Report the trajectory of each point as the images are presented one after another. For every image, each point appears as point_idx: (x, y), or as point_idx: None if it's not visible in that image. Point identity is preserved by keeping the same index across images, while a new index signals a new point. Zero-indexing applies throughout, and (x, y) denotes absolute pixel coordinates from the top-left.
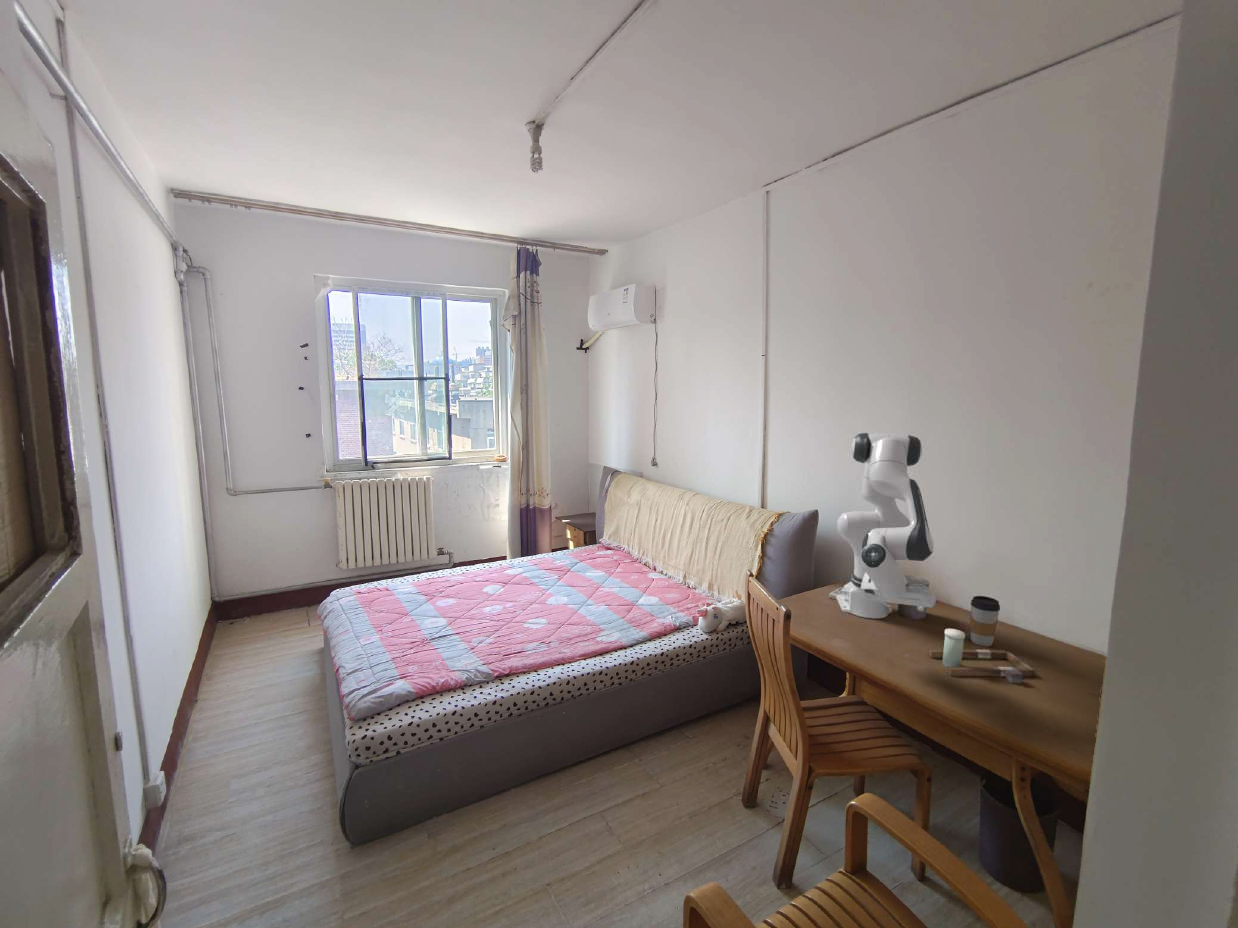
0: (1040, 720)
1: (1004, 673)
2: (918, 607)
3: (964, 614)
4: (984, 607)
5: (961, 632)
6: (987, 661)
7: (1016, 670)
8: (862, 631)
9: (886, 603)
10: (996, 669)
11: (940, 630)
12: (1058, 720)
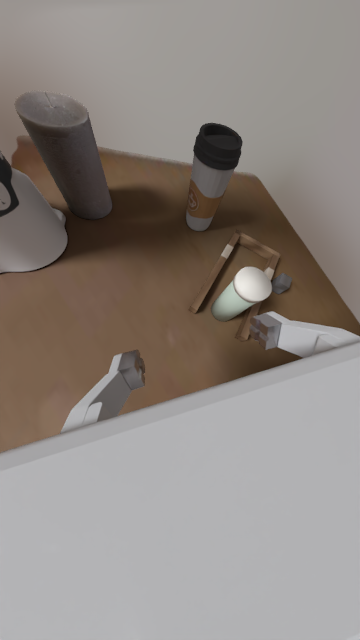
0: None
1: None
2: (272, 344)
3: (140, 167)
4: (229, 162)
5: (258, 272)
6: (233, 264)
7: (284, 275)
8: (68, 322)
9: (127, 393)
10: None
11: (149, 226)
12: None
